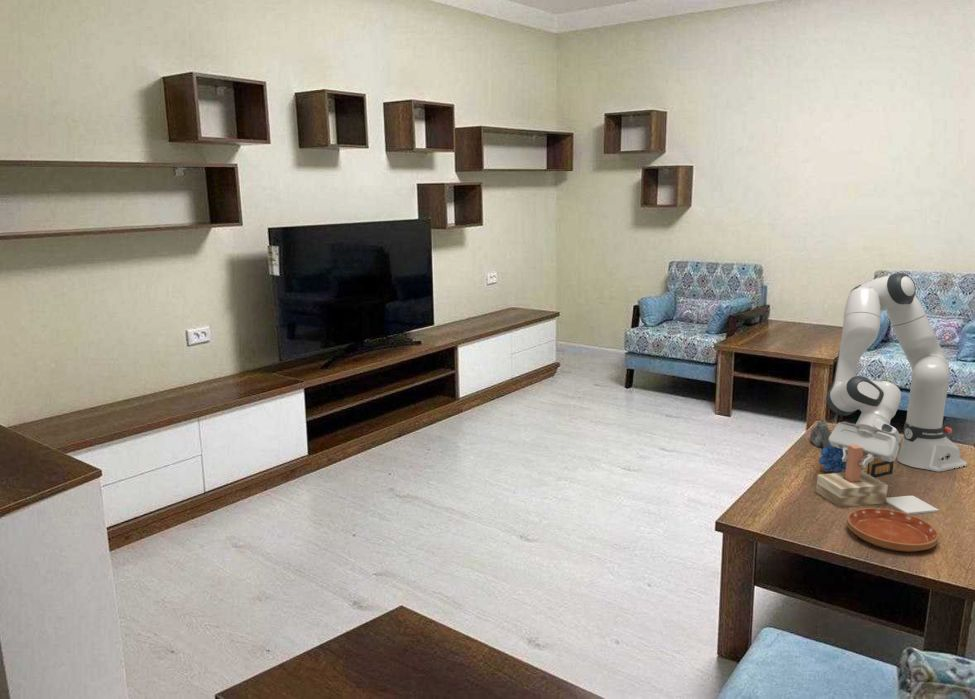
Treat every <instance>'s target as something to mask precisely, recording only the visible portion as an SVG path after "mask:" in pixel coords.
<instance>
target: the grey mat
mask: <svg viewBox="0 0 975 699" xmlns="http://www.w3.org/2000/svg"><path fill="white" fill-rule="evenodd" d="M885 504H887V505H889V506H891V507H893V508H895V509H896V510H897V511H899V512H903V513H907V514H910V515H917V514H918V515H919V514H930V513H939V511H940V510H939V509H938V508H936V507H934V506H933V505H931V504H930V503H927V502H925V501H924V500H921V499H920V498H918V497H917V496H914V495H903V496H892V497H889V496H888V497H886V503H885Z"/></svg>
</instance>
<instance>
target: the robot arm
mask: <svg viewBox="0 0 975 699" xmlns="http://www.w3.org/2000/svg"><path fill="white" fill-rule="evenodd" d="M916 289H917V288H916V284H915V281H914V280H913V278H912V277H910V276H909V275H908V274H906V273H904V272H899V273H898V272H897V273H892V274H889V275H885V276H881V277H876V278H874V279H873V280H869V281H868V282H865V283H863V284H859V285H857V286H855V287H854V288H852V289H851V290H850V292H849V293H848V294H849V295H848V296H847V299H846V303H845V308H844V312H843V313H844V315H843V323H842V324H843V325H842V332H841V339H840V345H839V349H838V350H839V351H838V352H837V354H838V355H837V359H836V364H835V371H834V377H833V382H832V385H831V387H830V389H829V390H828V392H827V394H826V403H827V406H828V408H829V409H830V410H831V411H832V412H833V413H835V414H836V415H839V416H845V417H846V416H850V415H852V414H853V413H855V412H856V411H857V410H859V411H860V412H861V413H860V415H859V417H858V419H857V421H856V423H852V422H848V421H845V420H844V421H840V422H837V423H836V424H835V427H834V429H833V430H832V431H831V432H832V433H831V435H830V436H829V442H830V444H831V446H833V447H837V448H840V449H843V457H842V461H843V462H846V463H847V453H848V445H858V446H860V447H862V448H863V455H864V456H867V457H866V458H864V459H862V460H861V461H860V463H859V465H860V467H861V468H865V469H866V467H867V466H868V463H870V462H871V461H873V460H874V458H877V459H881V460H885V461H888V462H892V461H895V460H896V461H898V462H899V463H901V464H903V465H906V466H908V467H912V468H917V469H923V470H930V471H932V472H944V471H945V472H946V471H949V470H954V468H955V469H960V468H964V467H963V466H965V467H967V466H968V463H967V462H966V461H965V460H964V459H962V458H961V451H960V448H959V446H958V445H957V444H955V443H954V442H953V441H952V440H951V439H949V438H948V437H947V436H946V433H947V434H949V435H950V434H952V432H953V429H952V428H951V427H949V426H945V427H944V425H943V423H944V422H943V421H944V416H945V409H946V408H945V407H946V401H947V398H948V397H947V396H948V390H949V384H950V377H951V372H950V367H949V363H948V360H947V358H946V356H945V354H944V351H943V349H942V347H941V345H940V343H939V340H938V338H937V337H936V335H935V332H934V329H933V327H932V325H931V323H930V321H929V318H928V316H927V314H926V312H925V309H924V307H923V306H922V304H921V302H920V300H919V299H918V297H917V296H916V292H917V291H916ZM883 311H886V312H887V317H888V319H889V321H890V324H891V327H892V329H893V331H894V333H895V334H894V335H895V336H896V338H897V340H898V343H899V345H900V347H901V349H902V351H903V353H904V355H905V356H906V358H907V361H908V364H909V365H910V367H911V370H912V372H911V373H912V374H911V380H910V381H911V383H910V391H909V397H908V405H907V412H906V420H905V422H904V425H903V438H901V435H900V432H899V431H898V429H897V428H896V427H894V426H892V425H891V420H892V419H893V418H894V417H895V416H896V413H897V411H898V409H899V406H900V404H901V400H902V392H901V390H900V388H899V387H898V386H897V385H896V384H894V383H892V382H890V381H886V380H883V381H877V380H872V379H869V378H868V377H865V376H863V375H857V368H858V363H859V361H860V359H861V358H862V356H863V354H864V353H865V352H866V351H867V350H868V349H869V348H870V346H872V345H873V344H874V343H875V341H876V340H877V338H878V337H879V336H878V335H879V333H880V328H881V318H882V317H881V316H882V315H881V312H883ZM901 440H902V441H901ZM899 444H901V446H900V445H899ZM863 455H862V456H863ZM959 467H960V468H959Z"/></svg>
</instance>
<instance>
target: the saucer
mask: <svg viewBox="0 0 975 699" xmlns="http://www.w3.org/2000/svg"><path fill="white" fill-rule="evenodd" d="M846 518H847V519H846V525H847V527H848V529H849V530H850V531H851V532H852V533H853V534H854V535H856V536H857V537H858V538H860V539H861V540H863V541H865V542H867V543H869V544H871V545H873V546H876V547H880V548H883V549H886V550H892V551H897V552H898V551H899V552H908V553H911V552H921V551H925V550H930V549H932V548H933V547H935V546H936V545H937V544H938V540H939V538H940V537H939V532H938V529H936V527H934V526H933V525H932V524H931V523H929V522H928V521H926V520H924V519H922V518H920V517H918V516H915V515H914V514H907V513H903V512H901V511H900V510H894V509H887V508H880V507H879V508H878V507H866V508H859V509H854V510H852V511H850V512H849V513H848V514H847V517H846Z"/></svg>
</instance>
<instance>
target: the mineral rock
mask: <svg viewBox="0 0 975 699" xmlns="http://www.w3.org/2000/svg"><path fill="white" fill-rule="evenodd" d="M832 432H833V431H831V429H830V428H829V426H828V422H827V420H826V419H825V418H823V419H822V420H820V421H818V422H817V423H816V425H815V426H814V427H813V428H812V429H811V432H810V441H811V442H812V444H814V446H816V447H817V448H821V449H823V448H828V444H829V443H830V442H829V436H830V435H831V433H832Z"/></svg>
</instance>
